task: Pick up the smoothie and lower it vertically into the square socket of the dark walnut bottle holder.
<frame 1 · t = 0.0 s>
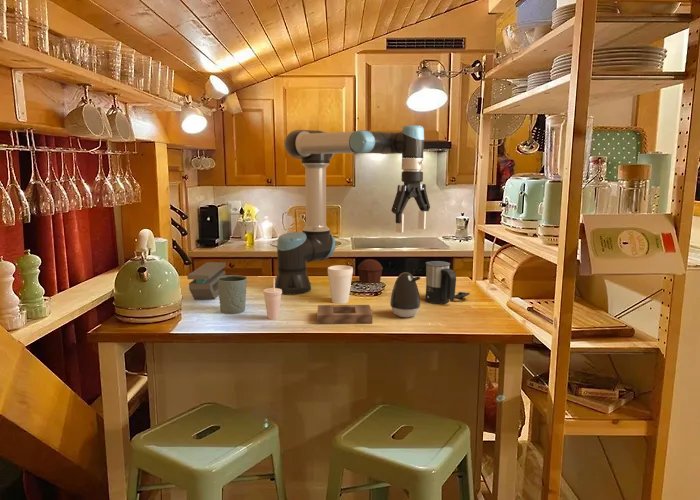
hand: (410, 230, 186), 28 cm above the kitchen island, fingers open, 13 cm apart
milk frother: (446, 301, 199), on the kitchen island
pump dispenser: (405, 316, 179), on the kitchen island
muffin: (370, 282, 228), on the kitchen island
bottle holder: (344, 318, 175), on the kitchen island
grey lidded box: (208, 295, 205), on the kitchen island
smoothie: (273, 318, 175), on the kitchen island
foam cup: (340, 301, 197), on the kitchen island
embossed green cup: (233, 311, 184), on the kitchen island
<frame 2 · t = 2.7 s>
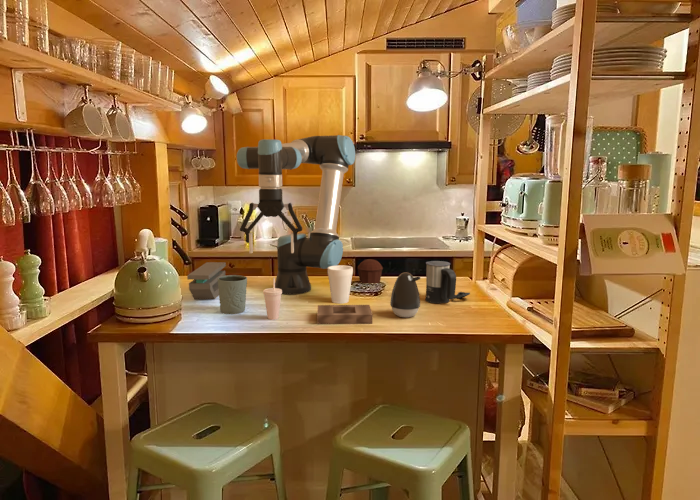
hand: (271, 252, 172), 22 cm above the kitchen island, fingers open, 13 cm apart
nothing on the kitchen island moved.
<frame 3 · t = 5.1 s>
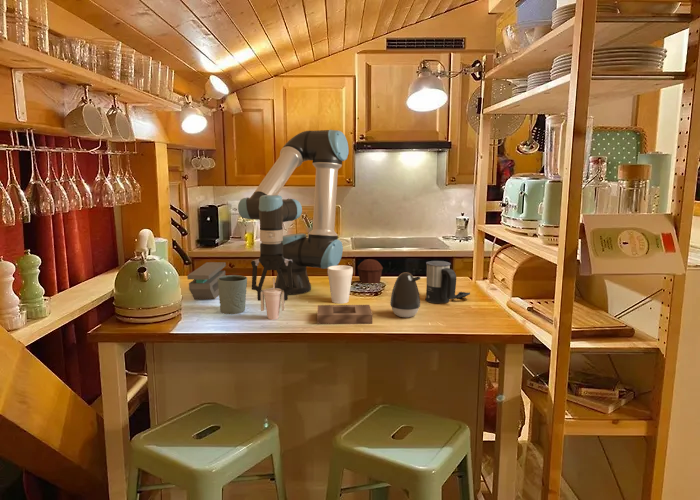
hand: (273, 309, 175), 3 cm above the kitchen island, fingers closed on smoothie, 6 cm apart
smoothie: (273, 318, 175), on the kitchen island, touching gripper
everything else where it was.
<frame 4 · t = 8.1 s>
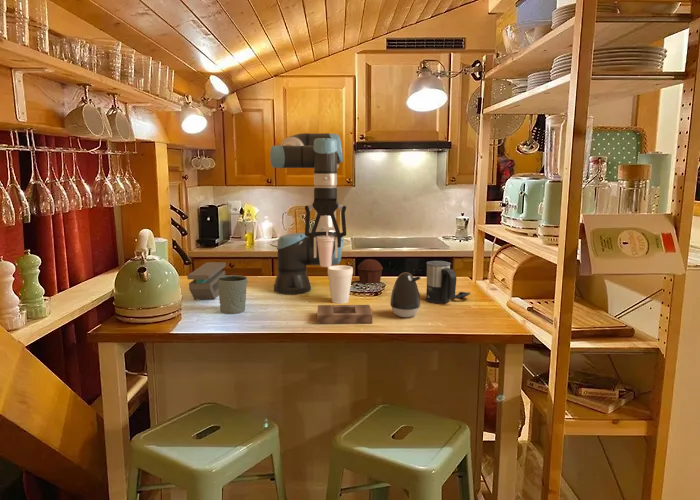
hand: (325, 257, 171), 21 cm above the kitchen island, fingers closed on smoothie, 6 cm apart
smoothie: (325, 266, 172), point 18 cm above the kitchen island, touching gripper
everything else where it was.
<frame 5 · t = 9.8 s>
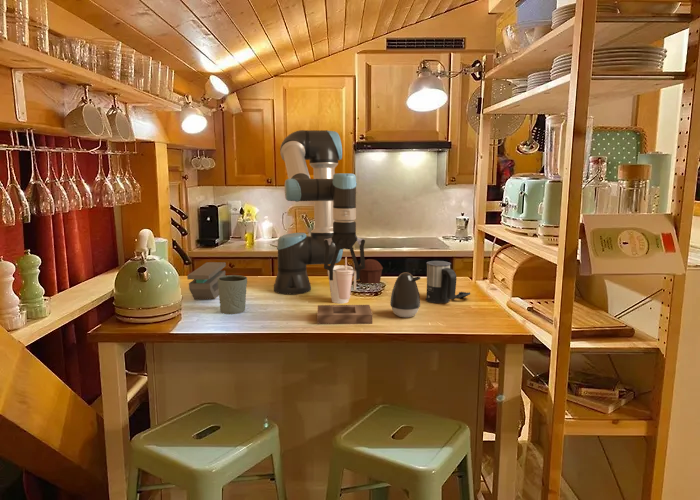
hand: (344, 289, 173), 10 cm above the kitchen island, fingers closed on smoothie, 6 cm apart
smoothie: (344, 298, 174), point 7 cm above the kitchen island, touching gripper
everything else where it was.
when the fingers open (5 cm above the kitchen island, at t = 11.2 s): smoothie drops 2 cm, resting in bottle holder.
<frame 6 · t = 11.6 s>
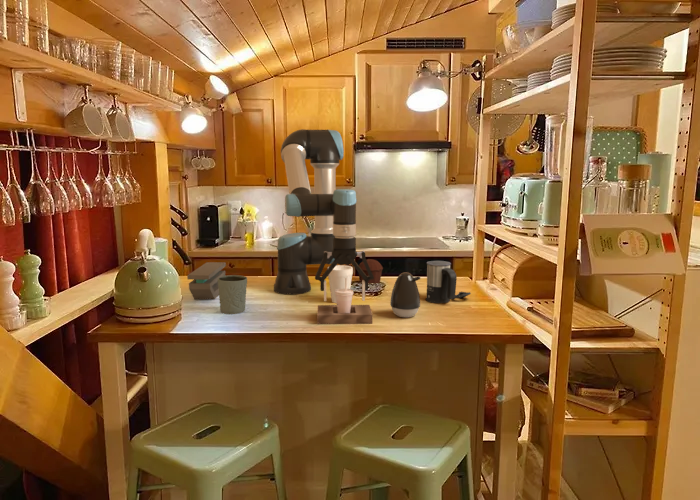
hand: (344, 300, 174), 6 cm above the kitchen island, fingers open, 12 cm apart
smoothie: (343, 319, 175), resting in bottle holder
everything else where it was.
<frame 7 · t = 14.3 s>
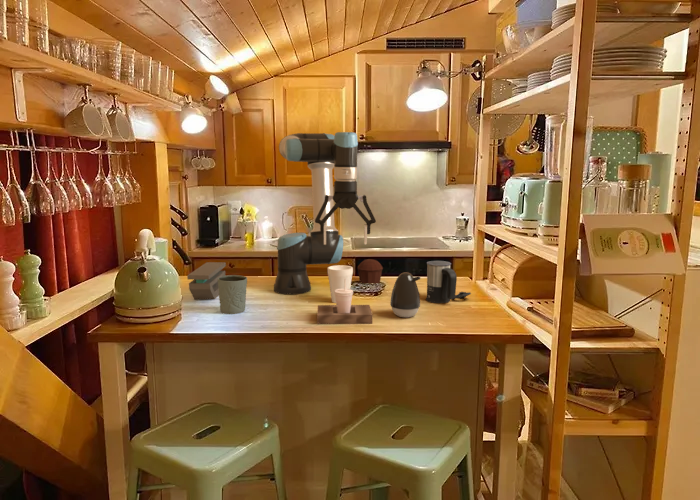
hand: (345, 243, 174), 25 cm above the kitchen island, fingers open, 13 cm apart
nothing on the kitchen island moved.
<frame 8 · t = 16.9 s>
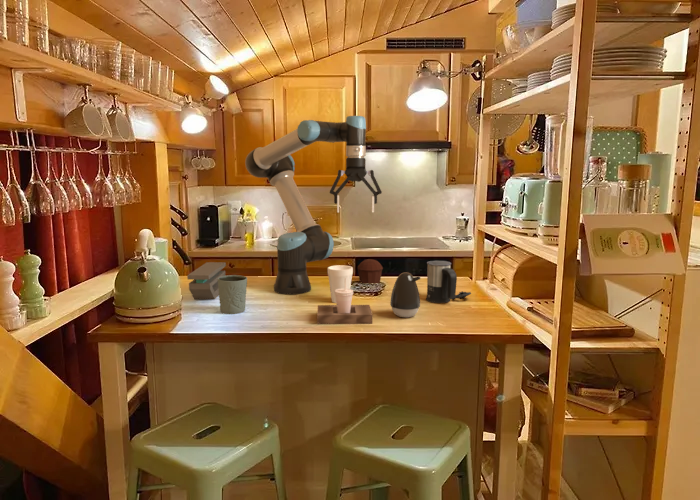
hand: (355, 212, 203), 33 cm above the kitchen island, fingers open, 13 cm apart
nothing on the kitchen island moved.
at the end: smoothie 0.2 cm off-centre on the bottle holder, point 0.0 cm above the bottle holder's base; smoothie tilted 0°; the gripper is holding nothing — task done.
